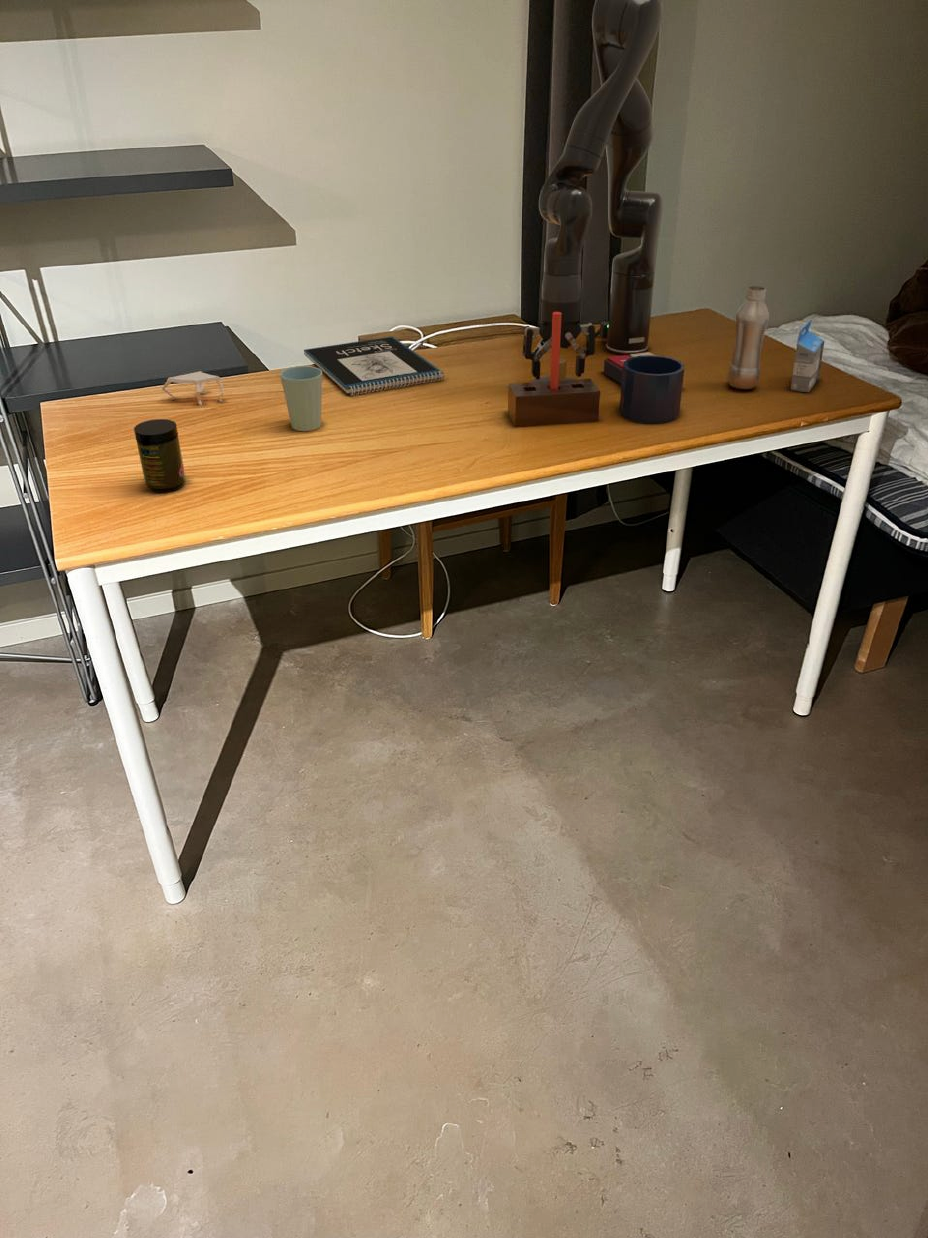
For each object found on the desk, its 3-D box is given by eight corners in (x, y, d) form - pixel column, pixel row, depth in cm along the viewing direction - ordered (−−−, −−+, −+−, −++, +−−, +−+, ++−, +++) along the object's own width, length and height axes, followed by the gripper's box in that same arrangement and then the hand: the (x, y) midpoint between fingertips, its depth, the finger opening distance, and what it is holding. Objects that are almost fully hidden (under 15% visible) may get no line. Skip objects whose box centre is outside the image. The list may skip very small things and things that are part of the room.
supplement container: (184, 492, 165) (174, 433, 159) (143, 495, 164) (131, 436, 158) (188, 475, 170) (178, 417, 164) (148, 477, 169) (136, 420, 164)
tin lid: (521, 383, 206) (521, 352, 203) (579, 380, 208) (581, 348, 204) (534, 405, 196) (535, 372, 192) (596, 401, 198) (598, 368, 194)
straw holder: (507, 413, 193) (508, 383, 190) (588, 407, 195) (590, 378, 192) (515, 426, 187) (515, 396, 184) (598, 421, 189) (600, 390, 186)
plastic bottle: (755, 381, 206) (770, 283, 195) (760, 393, 201) (776, 293, 190) (723, 381, 207) (737, 283, 196) (727, 392, 201) (742, 292, 190)
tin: (612, 403, 196) (616, 356, 191) (667, 400, 198) (672, 353, 193) (629, 425, 187) (633, 376, 182) (687, 421, 188) (693, 372, 183)
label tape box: (808, 393, 200) (819, 332, 194) (788, 389, 202) (798, 329, 195) (818, 380, 207) (830, 321, 200) (799, 376, 209) (809, 318, 202)
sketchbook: (392, 341, 231) (392, 332, 230) (445, 381, 208) (445, 371, 207) (304, 354, 223) (303, 345, 222) (349, 397, 201) (348, 387, 199)
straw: (547, 415, 191) (551, 311, 181) (555, 415, 192) (560, 311, 181) (549, 419, 190) (553, 314, 179) (557, 418, 190) (562, 313, 179)
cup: (323, 416, 192) (318, 363, 187) (330, 430, 186) (325, 377, 180) (284, 420, 191) (277, 367, 185) (289, 435, 184) (283, 381, 179)
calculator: (650, 350, 212) (684, 368, 200) (649, 369, 215) (683, 389, 202) (603, 355, 210) (635, 374, 197) (602, 375, 212) (634, 395, 200)
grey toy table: (222, 389, 205) (219, 366, 202) (226, 403, 198) (223, 379, 196) (163, 395, 202) (158, 372, 200) (165, 410, 196) (160, 386, 193)
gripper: (591, 288, 196) (587, 368, 204) (521, 292, 194) (519, 372, 203) (602, 298, 189) (596, 381, 198) (529, 302, 188) (526, 385, 196)
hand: (557, 376), depth 200 cm, fingers open, 8 cm apart
